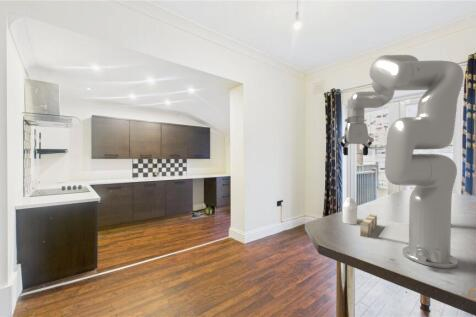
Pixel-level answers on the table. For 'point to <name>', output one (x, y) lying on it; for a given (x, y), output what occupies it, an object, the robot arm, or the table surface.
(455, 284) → the table surface
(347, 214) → the white bottle
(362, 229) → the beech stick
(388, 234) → the grey mat
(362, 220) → the sage stop bar
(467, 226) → the table surface
